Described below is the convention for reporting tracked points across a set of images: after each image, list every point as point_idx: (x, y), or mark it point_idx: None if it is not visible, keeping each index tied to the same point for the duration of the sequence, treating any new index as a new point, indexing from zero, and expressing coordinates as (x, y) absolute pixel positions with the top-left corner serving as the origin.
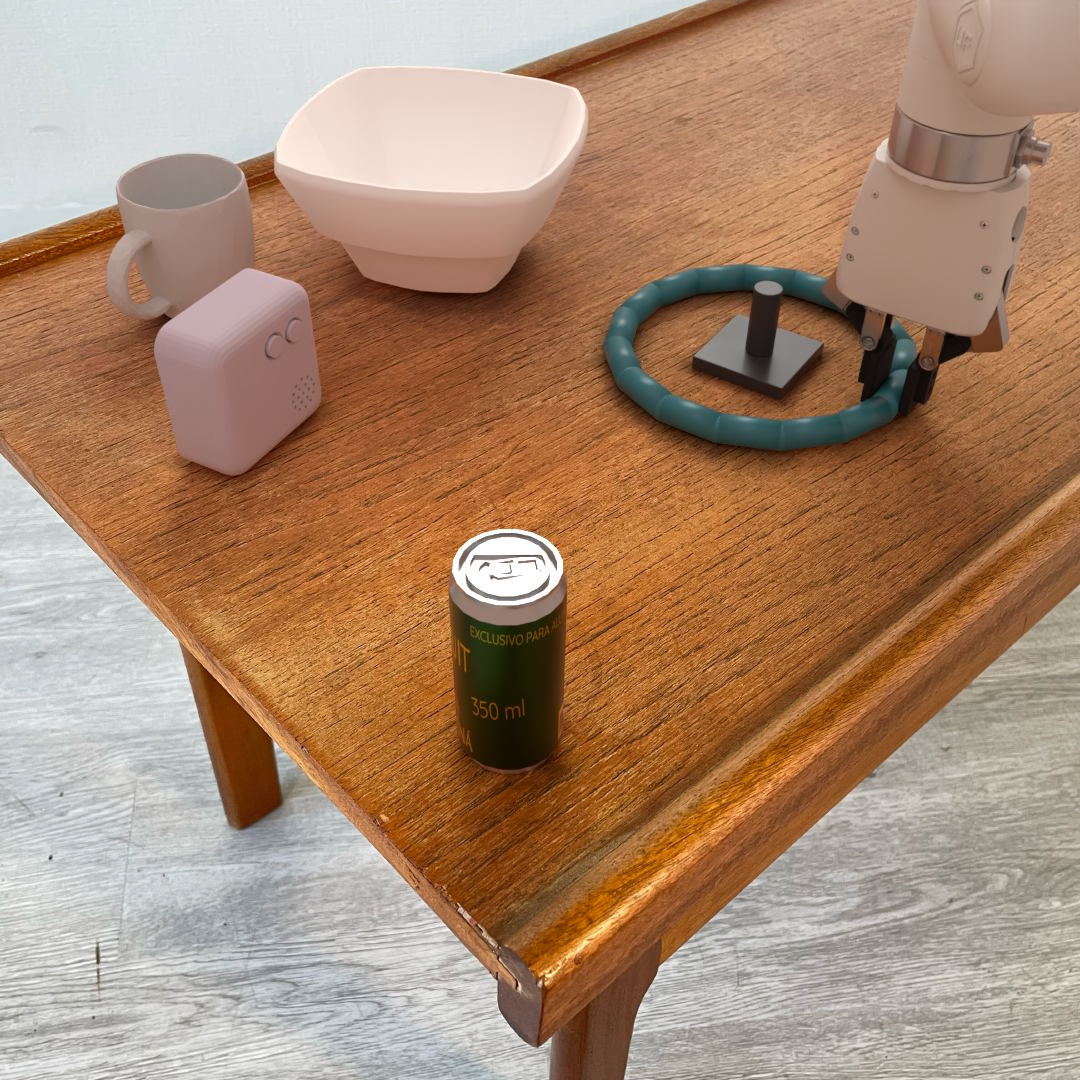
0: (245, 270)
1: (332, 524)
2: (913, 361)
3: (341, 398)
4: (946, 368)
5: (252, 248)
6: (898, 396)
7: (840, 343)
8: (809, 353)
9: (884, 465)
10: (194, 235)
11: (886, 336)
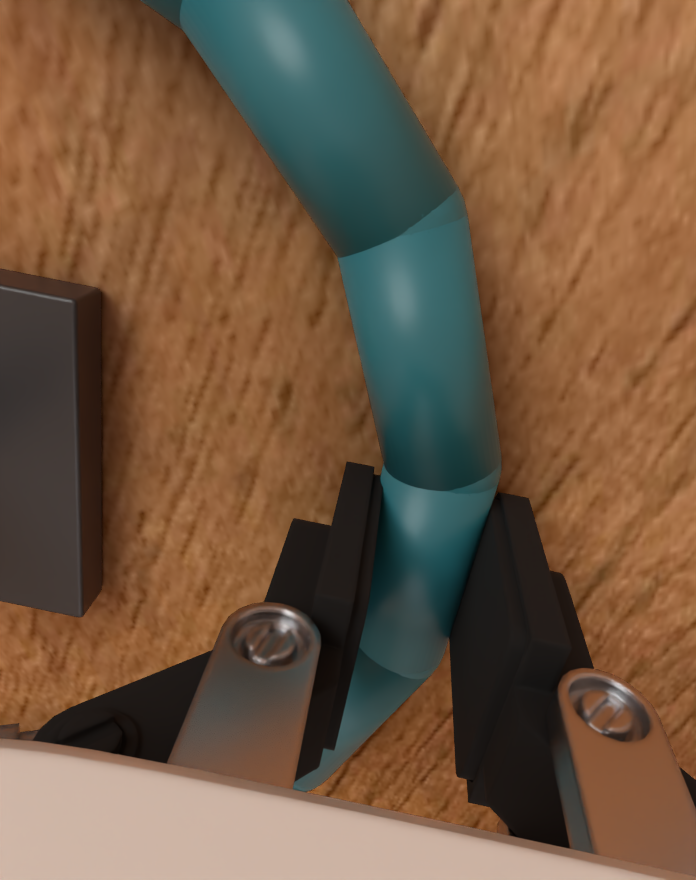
0: None
1: None
2: (472, 749)
3: None
4: (613, 162)
5: None
6: (441, 626)
7: (132, 163)
8: (61, 403)
9: (451, 743)
10: None
11: (313, 740)
